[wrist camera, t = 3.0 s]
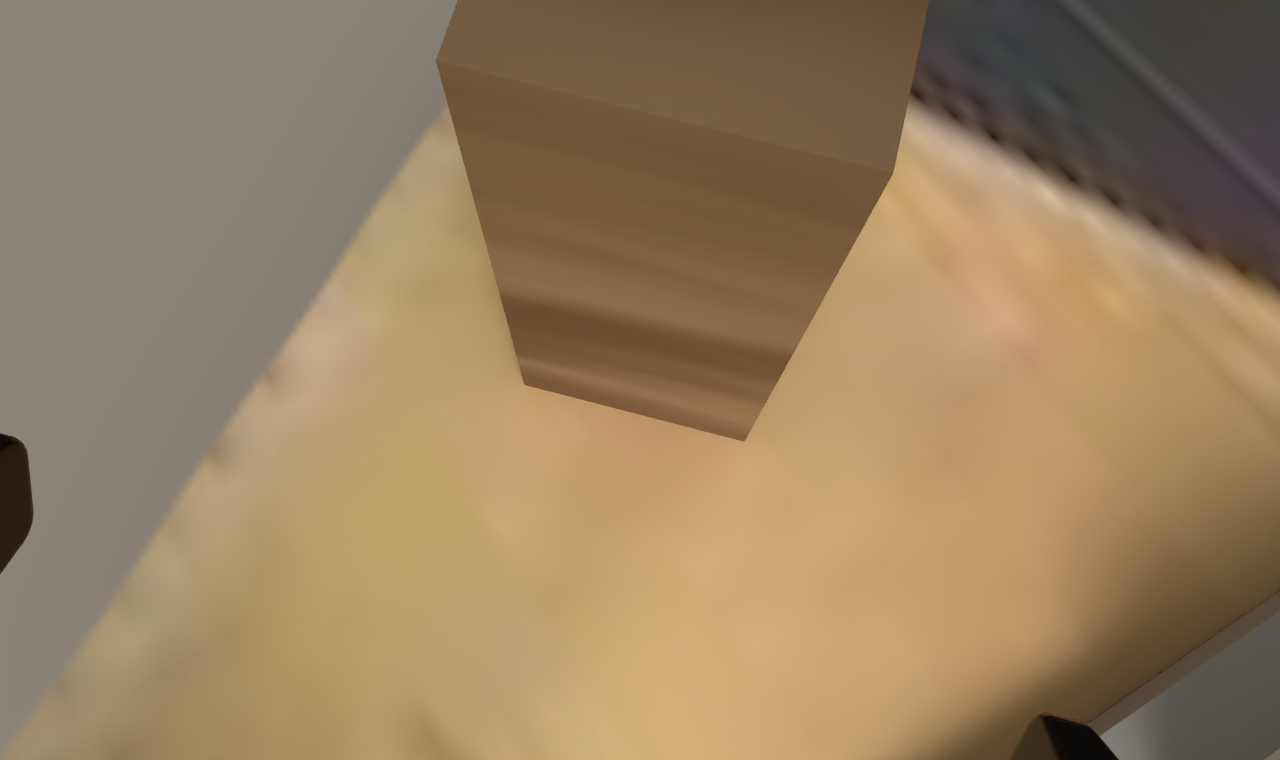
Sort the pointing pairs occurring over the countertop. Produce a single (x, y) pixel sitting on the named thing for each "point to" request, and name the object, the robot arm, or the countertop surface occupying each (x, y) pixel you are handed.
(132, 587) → the countertop surface
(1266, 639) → the base brick
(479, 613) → the countertop surface
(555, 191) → the walnut brick
